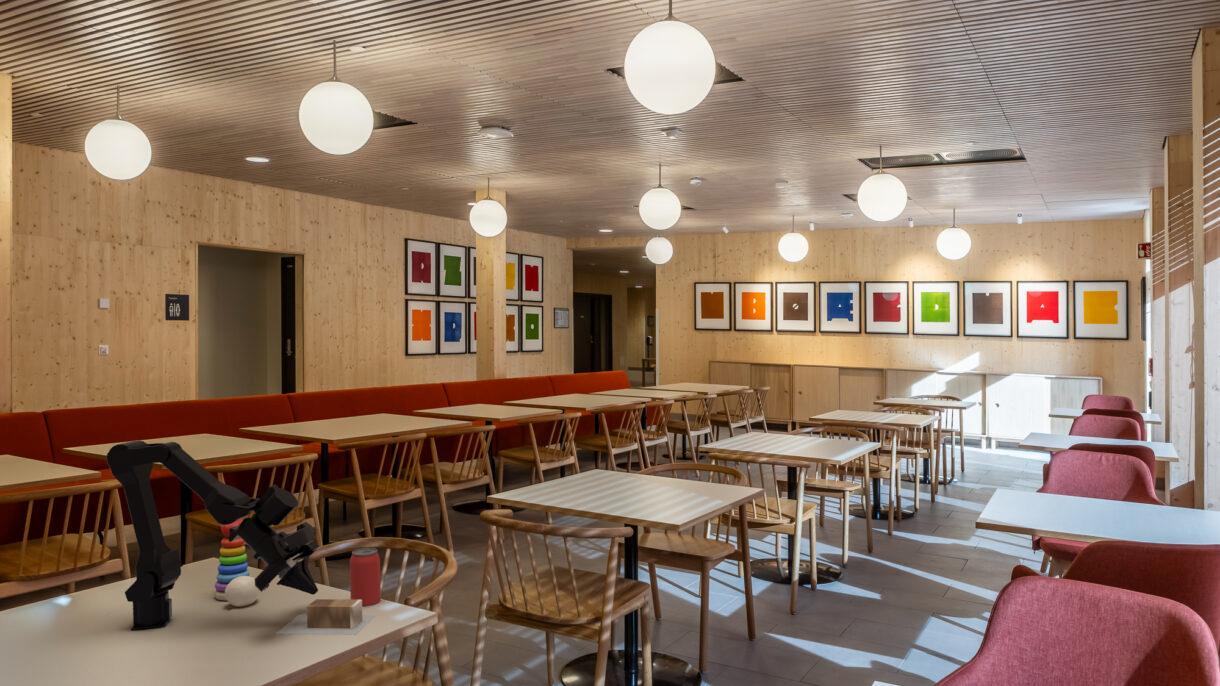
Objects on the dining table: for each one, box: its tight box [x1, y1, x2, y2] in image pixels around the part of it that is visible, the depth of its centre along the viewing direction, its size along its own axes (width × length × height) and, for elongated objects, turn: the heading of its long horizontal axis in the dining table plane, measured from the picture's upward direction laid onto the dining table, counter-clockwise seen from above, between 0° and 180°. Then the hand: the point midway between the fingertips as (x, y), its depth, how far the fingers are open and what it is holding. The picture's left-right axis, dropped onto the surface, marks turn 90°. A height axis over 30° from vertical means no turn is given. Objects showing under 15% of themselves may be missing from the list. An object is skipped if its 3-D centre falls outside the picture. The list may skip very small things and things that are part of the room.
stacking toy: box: [213, 518, 250, 601], centre depth 191 cm, size 8×8×19 cm
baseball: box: [225, 575, 260, 608], centre depth 184 cm, size 7×7×7 cm
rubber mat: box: [275, 614, 376, 636], centre depth 170 cm, size 17×11×1 cm, turn 86°
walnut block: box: [306, 598, 363, 628], centre depth 170 cm, size 4×4×10 cm
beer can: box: [349, 547, 382, 608], centre depth 184 cm, size 7×7×12 cm
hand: (316, 592), depth 170 cm, fingers closed
